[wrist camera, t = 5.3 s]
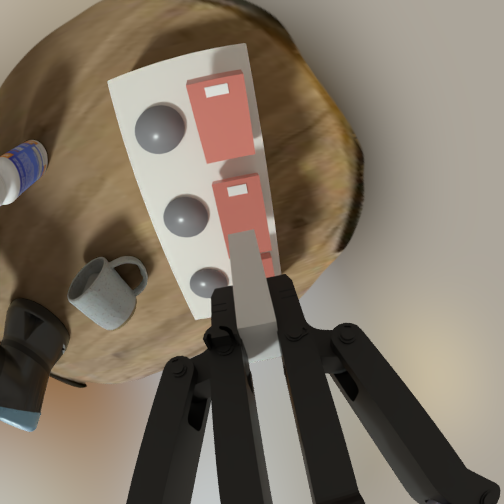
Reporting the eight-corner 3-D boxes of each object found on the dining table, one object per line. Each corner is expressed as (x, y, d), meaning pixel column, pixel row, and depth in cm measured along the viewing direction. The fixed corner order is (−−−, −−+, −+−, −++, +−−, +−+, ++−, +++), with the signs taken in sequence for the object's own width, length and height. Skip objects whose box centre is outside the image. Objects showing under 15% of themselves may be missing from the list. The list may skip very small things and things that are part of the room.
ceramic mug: (111, 303, 39) (100, 342, 32) (77, 268, 34) (59, 306, 28) (161, 280, 37) (155, 321, 31) (126, 238, 32) (110, 277, 26)
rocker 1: (206, 154, 22) (206, 164, 21) (187, 80, 17) (185, 85, 16) (252, 144, 22) (255, 154, 21) (240, 69, 17) (243, 73, 16)
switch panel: (203, 311, 41) (203, 342, 37) (125, 79, 21) (102, 81, 16) (280, 296, 41) (288, 327, 37) (241, 49, 21) (247, 41, 16)
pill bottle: (38, 130, 22) (-13, 158, 14) (55, 167, 25) (10, 204, 17) (13, 152, 22) (-33, 184, 14) (30, 185, 25) (-12, 225, 18)
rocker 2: (229, 251, 26) (229, 259, 25) (212, 181, 23) (211, 184, 22) (269, 243, 26) (272, 250, 25) (257, 172, 23) (259, 175, 22)
